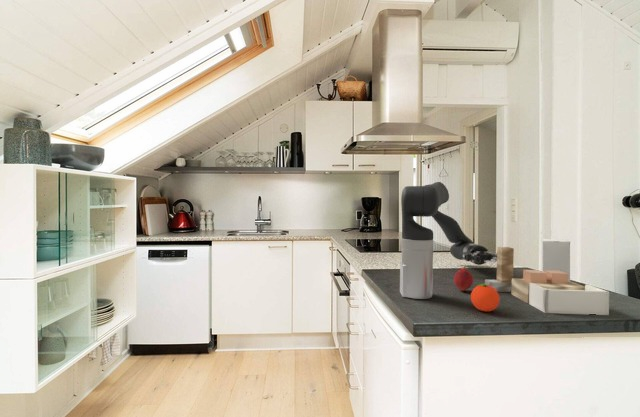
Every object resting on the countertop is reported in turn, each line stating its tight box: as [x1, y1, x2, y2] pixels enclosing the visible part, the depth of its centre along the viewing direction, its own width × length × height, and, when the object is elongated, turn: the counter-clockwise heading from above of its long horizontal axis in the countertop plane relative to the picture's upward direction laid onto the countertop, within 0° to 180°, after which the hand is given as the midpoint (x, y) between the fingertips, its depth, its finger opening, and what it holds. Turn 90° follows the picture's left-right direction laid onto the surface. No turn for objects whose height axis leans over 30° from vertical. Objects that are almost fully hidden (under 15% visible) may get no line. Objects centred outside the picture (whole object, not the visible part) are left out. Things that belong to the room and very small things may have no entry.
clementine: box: [470, 283, 501, 312], centre depth 93 cm, size 8×7×7 cm
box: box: [528, 283, 610, 316], centre depth 95 cm, size 16×8×6 cm, turn 85°
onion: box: [453, 265, 474, 292], centre depth 113 cm, size 6×6×8 cm
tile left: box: [522, 269, 547, 283], centre depth 106 cm, size 4×4×3 cm
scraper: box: [484, 246, 515, 293], centre depth 115 cm, size 11×4×14 cm, turn 85°
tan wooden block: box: [510, 277, 585, 305], centre depth 104 cm, size 16×10×5 cm, turn 85°
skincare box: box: [541, 238, 571, 281], centre depth 126 cm, size 8×7×16 cm
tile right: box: [544, 270, 568, 284], centre depth 105 cm, size 4×4×3 cm
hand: (491, 260), depth 125 cm, fingers open, 8 cm apart
